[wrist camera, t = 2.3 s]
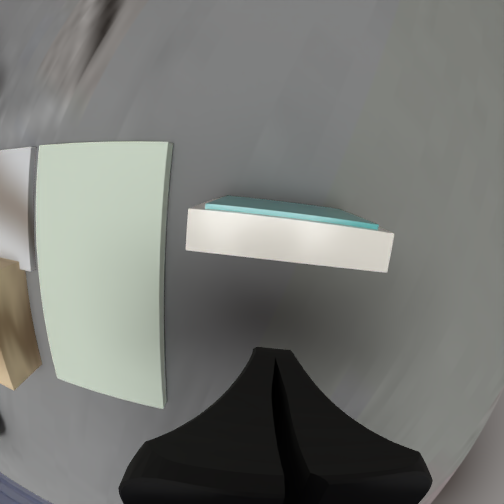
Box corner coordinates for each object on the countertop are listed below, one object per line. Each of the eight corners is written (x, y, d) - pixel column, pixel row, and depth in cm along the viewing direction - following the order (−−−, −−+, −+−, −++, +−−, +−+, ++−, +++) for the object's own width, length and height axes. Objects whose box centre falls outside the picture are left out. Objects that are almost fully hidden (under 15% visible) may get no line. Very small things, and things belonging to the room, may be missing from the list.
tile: (341, 236, 14) (386, 272, 9) (217, 222, 15) (185, 250, 9) (345, 209, 14) (395, 228, 8) (219, 194, 14) (188, 203, 8)
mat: (166, 401, 17) (163, 409, 16) (62, 372, 17) (57, 378, 17) (173, 143, 14) (168, 142, 13) (47, 146, 14) (39, 145, 13)
